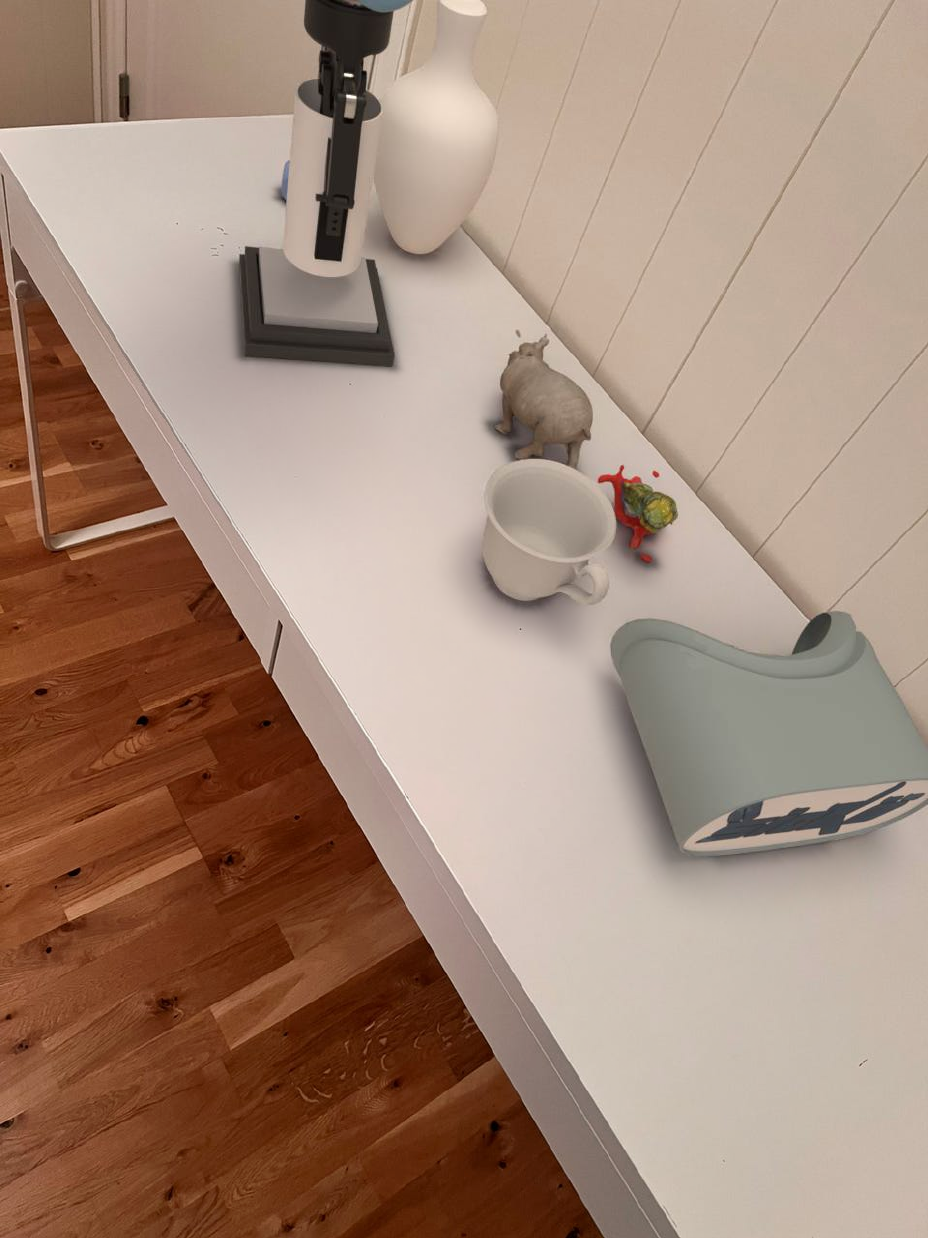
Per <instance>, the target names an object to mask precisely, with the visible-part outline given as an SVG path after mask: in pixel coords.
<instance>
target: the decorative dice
mask: <svg viewBox="0 0 928 1238" xmlns="http://www.w3.org/2000/svg"><path fill="white" fill-rule="evenodd" d="M289 164H290V159H289V160H287V161H286V162H285V163H284V167H283V172H282V178H281V188H280V189H281V190H280V191H281V192H280V194H281V196H282V198H283V199H284V200H285V201H286V202H287V189H288V176H289Z"/></svg>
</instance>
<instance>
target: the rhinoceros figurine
mask: <svg viewBox="0 0 928 1238" xmlns="http://www.w3.org/2000/svg"><path fill="white" fill-rule="evenodd" d="M515 334H516V336H517V337H518V338H521V337H522V335H521V332H520V330H519V329H515ZM547 336H548V334H547V332H545V333H544V335H543V336H542V337H540V338H539V340H538V341H534V342H523V343H521V344H520V345H519V346H518V351H512V352H511V353H508V356H509V357H508V360H507V365H506V366H505V368H504V370H503V372H502V373H501V376H500V379H499V386H500V390H501V391H502V397H501V405H502V406H501V407H502V422H501V423H498V424H495V425H493V428H494V429H495V430H497V431H498V432H499V433H501V434H502V435H504V436H507V434H508V433H510V432H512V431H513V427H514V417H515V418H516V420H518V421H519V422H520V423H522V424H523V425H525V426H526V427H528V428H529V429H530V430H532V431H533V441H532V442H531V443H529V444H527V445H525V446H523V447H521V448H519V449H518V450H514V451H515V452H514V454H515V456H514V458H515V459H518V461H519V460H526V459H533V456H535V457H542V456H544V455H545V451H546V450H545V449H546V446H548V445H563V447H564V448H565V450H566V451H565V452H566V454H567V462H566V465H567V466H569V467H571V468H573V469H575V470H577V469H576V468H577V465H578V462H579V457H580V453H581V448H582V444H583V443H584V442H585V441H588V442H589V441H591V440H592V432H591V428H592V425H593V421H594V420H593V419H594V410H593V406H592V403H591V400H590V398H589V397H588V395H587V393H586V391H584V390H583V388H582V387H581V386H579V384H577V383H576V382H575V381H573V379H571V378H569V377H568V376H566V375H564V373H560V372H559V371H557V370H555V369H553V368H551V367H550V366H549V364H548V363H547V362H545V361H544V349H545V347H547V346H548V345H549V343H550V339H549V338H547Z"/></svg>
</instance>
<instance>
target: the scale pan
mask: <svg viewBox="0 0 928 1238" xmlns="http://www.w3.org/2000/svg"><path fill="white" fill-rule="evenodd" d="M258 248H259V270H260V282H261V294H262V306H263V318H264V324H271V325H284V326H296V327H308V328H321V329H333V330H345V331H358V332H370V333H376V332H377V326H378V321H377V316H376V311H375V305H374V300H373V295H372V290H371V285H370V280H369V274H368V269H367V264H366V259H367V258H366V257H362V256H361V261H360V265H359V267H358V268H357V269H356V270H355V271H354V272H352V273H350V274H348V275H345V276H340V277H323V276H317V275H313V274H310V273H307V272H305V271H303V270H301V269H299V268H297V267H296V266H294V265H293V264H292V263H291V262H290V261H289V260H288V259H287V258H286V256H285V254H284V252H283V248H276V247H267V246H259V247H258Z"/></svg>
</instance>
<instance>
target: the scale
mask: <svg viewBox="0 0 928 1238" xmlns="http://www.w3.org/2000/svg"><path fill="white" fill-rule="evenodd" d="M365 259H366V264H367V269H368V274H369V280H370V285H371V290H372V295H373V300H374V305H375V311H376V316H377V321H378V326H377V332H376V333H370V332H358V331H345V330H333V329H321V328H308V327H296V326H284V325H271V324H264V318H263V306H262V294H261V282H260V270H259V247H257V246H248V245H247V246H246V245H245V246H244V253H239V256H238V270H239V271H238V273H239V287H240V288H239V290H240V305H241V319H242V320H241V321H242V336H243V352H244V356H245V357H255V358H270V359H282V360H298V361H312V362H324V363H325V362H327V363H339V364H353V365H368V366H380V367H393V365H394V360H395V355H396V354H395V350H394V345H393V341H392V335H391V331H390V326H389V321H388V316H387V310H386V307H385V306H386V305H385V301H384V300H385V299H384V296H383V292H382V287H381V280H380V277H379V272H378V271H379V270H378V268H377V265H376V260H375V259H372V258H371V259H370V258H365Z"/></svg>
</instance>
